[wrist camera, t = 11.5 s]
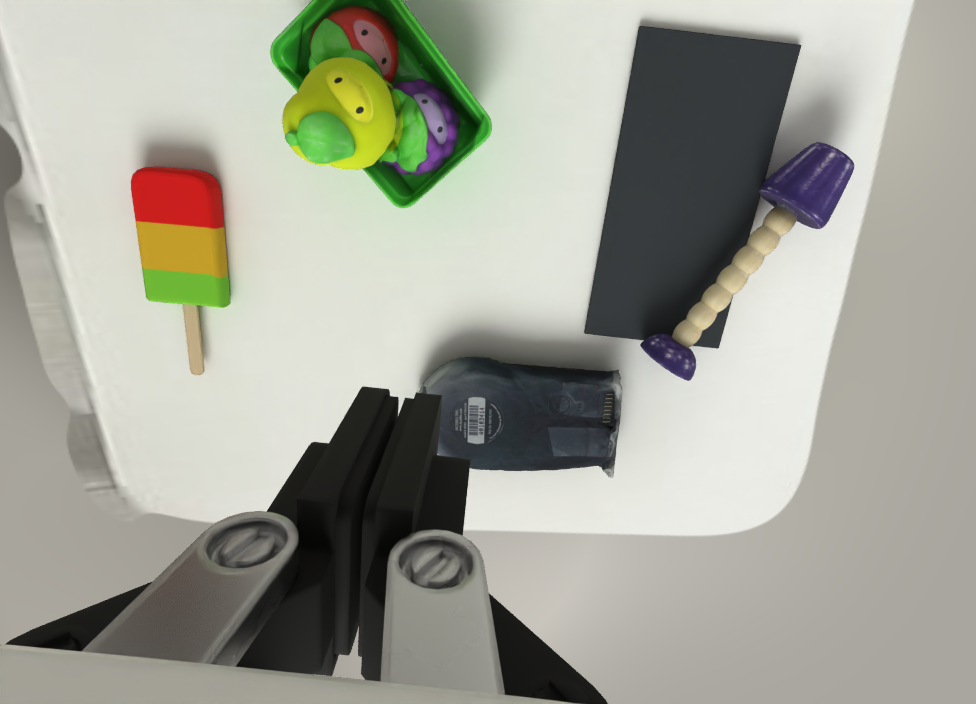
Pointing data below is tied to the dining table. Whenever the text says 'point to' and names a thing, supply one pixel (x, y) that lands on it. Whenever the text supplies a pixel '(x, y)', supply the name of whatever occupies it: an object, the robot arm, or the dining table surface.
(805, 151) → the toy lamp
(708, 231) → the mat
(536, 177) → the dining table surface
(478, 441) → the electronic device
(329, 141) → the fruit basket
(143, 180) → the popsicle
